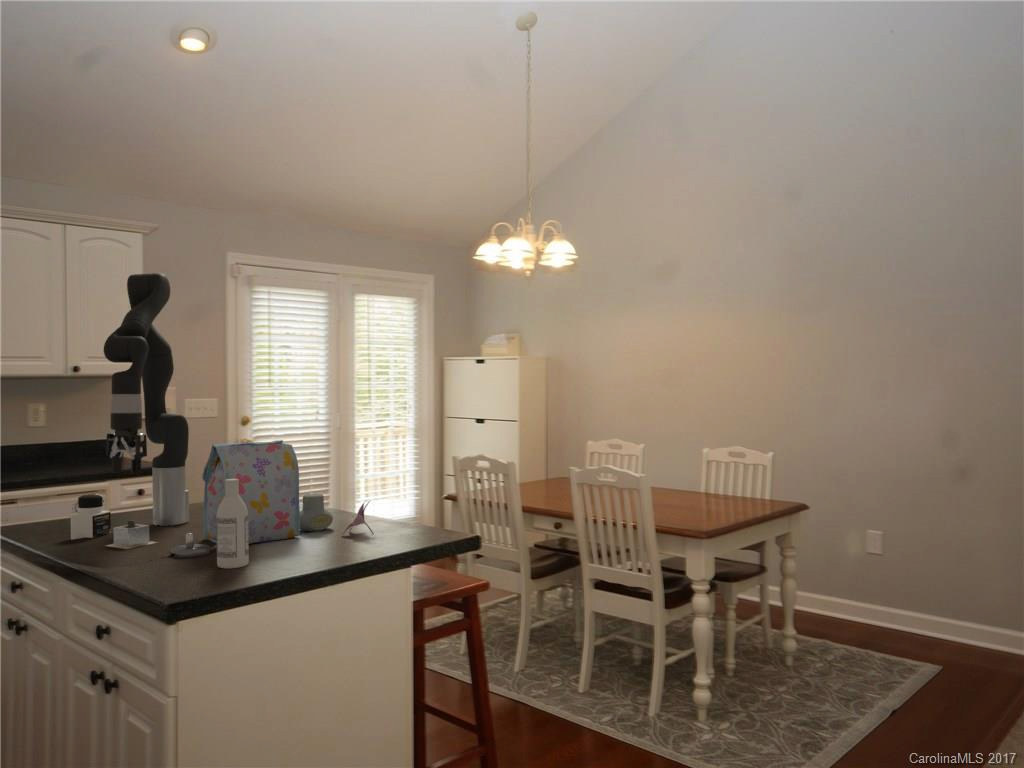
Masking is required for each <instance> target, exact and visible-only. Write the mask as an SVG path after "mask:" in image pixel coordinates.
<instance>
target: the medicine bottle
mask: <svg viewBox="0 0 1024 768" xmlns="http://www.w3.org/2000/svg"><path fill="white" fill-rule="evenodd" d="M77 504H78V505H77V506H78V507H77V508H78V509H77V510H78V511H79V512H75V513H71V514H70V540H71V541H72V540H77V539H83V538H90V539H91V538H92V539H93V538H97V537H101V536H105V535H108V534H111V532H112V530H111V529H112V527H111V525H112V524H111V523H112V522H111V521H112V520H111V511H110V510H103V509H104V496H103V495H101V494H99V493H91V494H88V493H87V494H83V495H80V496H78V497H77Z"/></svg>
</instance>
